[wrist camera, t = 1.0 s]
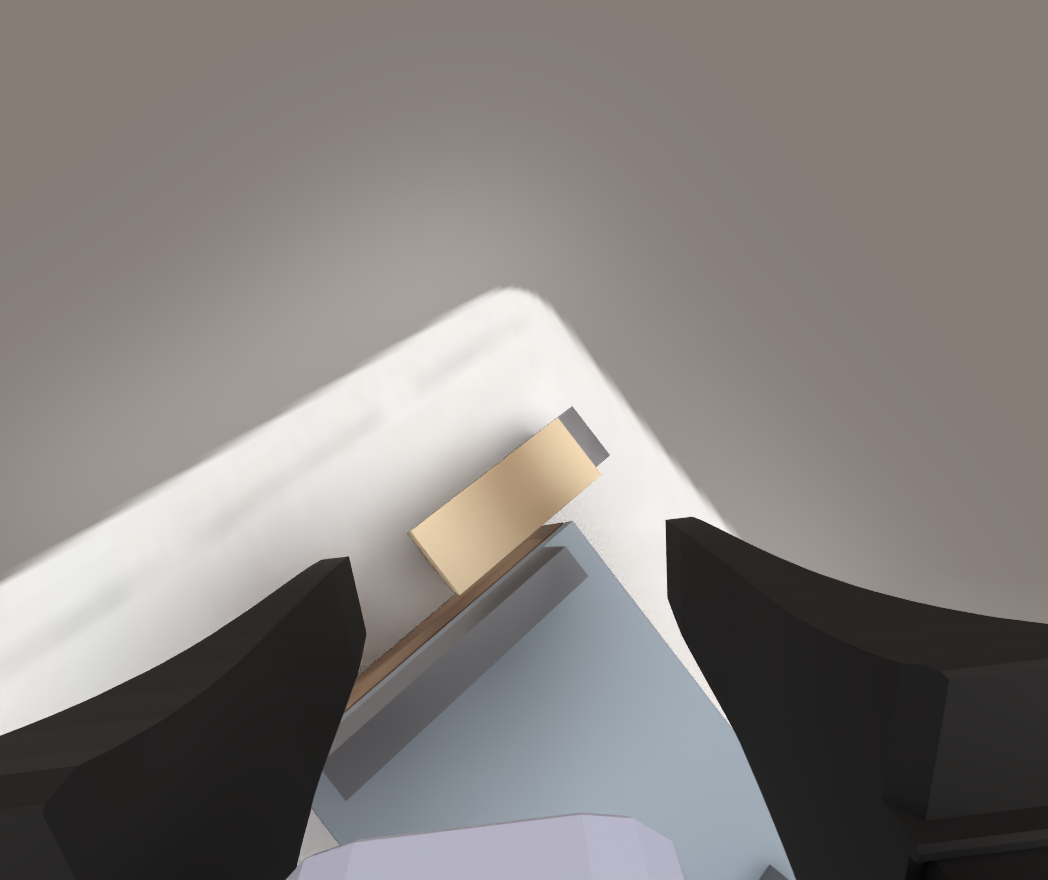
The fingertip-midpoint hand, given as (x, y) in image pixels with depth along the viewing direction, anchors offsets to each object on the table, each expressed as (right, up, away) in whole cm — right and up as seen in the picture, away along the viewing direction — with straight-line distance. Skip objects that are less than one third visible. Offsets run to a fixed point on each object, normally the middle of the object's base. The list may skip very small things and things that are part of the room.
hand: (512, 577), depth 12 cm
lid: (+2, -10, +7) cm, 12 cm away
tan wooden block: (-1, +1, +7) cm, 7 cm away
